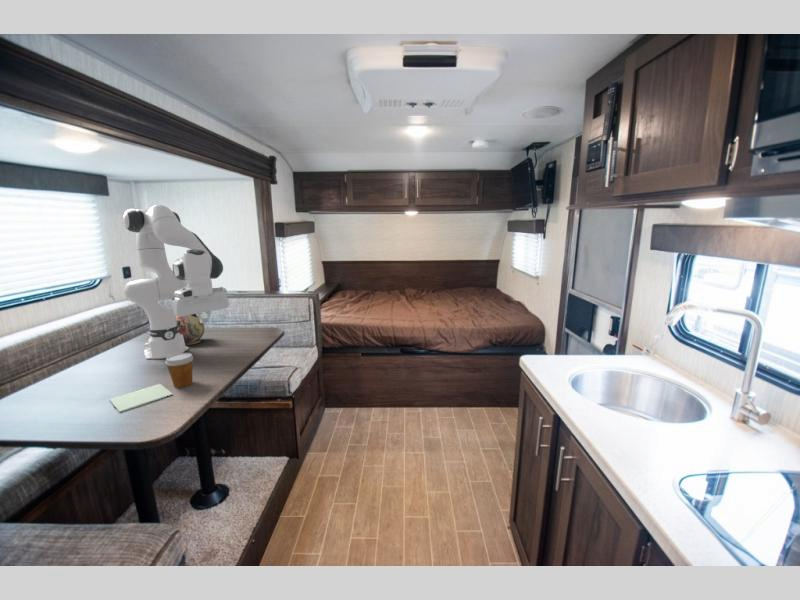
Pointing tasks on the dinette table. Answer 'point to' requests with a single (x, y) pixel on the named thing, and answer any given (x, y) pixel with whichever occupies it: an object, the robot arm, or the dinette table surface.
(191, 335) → the ceramic jug
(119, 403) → the mat
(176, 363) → the disposable coffee cup
